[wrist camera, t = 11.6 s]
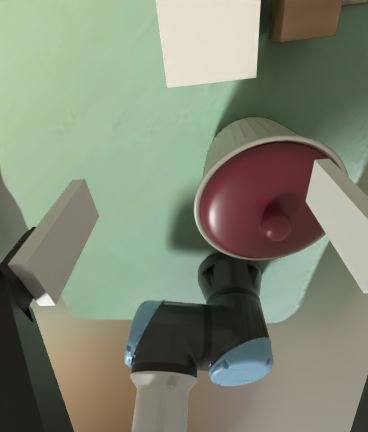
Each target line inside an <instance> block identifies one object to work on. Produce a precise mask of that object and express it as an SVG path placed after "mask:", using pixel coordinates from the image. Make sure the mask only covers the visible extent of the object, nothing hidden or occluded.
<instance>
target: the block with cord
mask: <svg viewBox="0 0 368 432" xmlns="http://www.w3.org/2000/svg"><path fill="white" fill-rule="evenodd" d="M366 2H368V0H272V1H271V14H270V26H269V38H268V39H269V40H274V41H279V42H285V41H293V40H302V39H310V38H319V37H328V36H335V34H336V30H337V25H338V20H339V15H340V11H341V6H343V5H351V4H358V3H366Z"/></svg>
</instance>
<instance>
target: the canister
mask: <svg viewBox="0 0 368 432" xmlns="http://www.w3.org/2000/svg"><path fill="white" fill-rule="evenodd" d="M318 159H330V160H331V161H332V162H333V163H334V164H335V165H336V166H337V167H338V168H339V169H340V170H341V171H342V172H343V173H344V174H345V175H346V176H347V177H348V174H347V170H346V168H345V166H344V164H343V162H342V161H341V159H340V158H339V157H338V156H337V154H336V153H335V152H334V151H332V150H331V149H330V148H329V147H327V146H326V145H324V144H322V143H321V142H319V141H316V140H314V139H311V138H308V137H304V136H299V135H297V134H296V133H294V132H293V131H291V130H290V129H288V128H286V127H284V126H282V125H281V124H279V123H277V122H275V121H273V120H268V119H267V118H260V117H248V118H242V119H240V120H237V121H235V122H233V123H231V124H229V125H228V126H227V127H225V128H223V129H222V131H221V132H219V133H218V134H217V136H216V137H215V138H214V139H213V142H212V144H211V145H210V148H209V150H208V153H207V157H206V161H205V167H204V172H203V178H202V180H201V182H200V184H199V186H198V189H197V191H196V195H195V199H194V217H195V222H196V225H197V227H198V229H199V231H200V233H201V235H202V236H203V237H204V239H205V240H206V241H207V242H208V243H209V244H210V245H212V246H213V247H214V248H216V249H217V250H219V251H221V252H222V253H225V254H227V255H229V256H232V257H236V258H240V259H246V260H270V259H276V258H281V257H285V256H288V255H291V254H294V253H296V252H299V251H301V250H303V249H305V248H307V247H309V246H310V245H312V244H313V243H315V242H316V241H318V240H319V239H320V238H322V237H323V236H324V235H325V234H326V233H325V231H324V230H323V228H322V227H321V225H320V223H319V222H318V220H317V219H316V217H315V216H314V214H313V212H312V211H311V209H310V208H309V206H308V204H307V203H306V197H307V193H308V188H309V184H310V179H311V175H312V170H313V166H314V161H315V160H318Z"/></svg>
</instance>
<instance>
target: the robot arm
mask: <svg viewBox="0 0 368 432" xmlns="http://www.w3.org/2000/svg"><path fill="white" fill-rule="evenodd" d="M306 203H307V204H308V206H309V208H310V209H311V211H312V212H313V214H314V216H315V217H316V219H317V220H318V222H319V223H320V225H321V227H322V228H323V230H324V231H325V233H326V235H327V236H328V238H329V239H330V241H331V242H332V244H333V246H334V247H335V249H336V250H337V252H338V253H339V255H340V257H341V258H342V260H343V261H344V263H345V265H346V266H347V268H348V269H349V271H350V272H351V274H352V276H353V277H354V279H355V280H356V282H357V283H358V285H359V287H360V288H361V290H362V292H363V293H368V197H367V196H366V195H365V194H364V193H363V192H362V191H361V190H360V189H359V188H358V187H357V186H356V185H355V184H354V183H353V182H352V181H351V180H350V179H349V178H348V177H347V176H346V175H345V174H344V173H343V172H342V171H341V170H340V169H339V168H338V167H337V166H336V165H335V164H334V163H333V162H332V161H331V160H330V159H318V160H315V161H314V166H313V170H312V175H311V179H310V184H309V188H308V193H307V197H306ZM98 217H99V214H98V212H97V209H96V207H95V204H94V201H93V199H92V196H91V194H90V191H89V189H88V186H87V183H86V181H85V179H79V180H72V181H71V183H70V184H69V185H68V186H67V188H66V189H65V190H64V192H63V193H62V194H61V196H60V197H59V198H58V200H57V201H56V202H55V203H54V205H53V206H52V207H51V209H50V210H49V211H48V213H47V214H46V215H45V216H44V218H43V219H42V220H41V222H40V223H39V224H38V226H37V227H33V228H31V229H30V230H29V231H27V232H26V233H25V234H24V235H23V236H22V237H21V238H20V240H19V241H18V243H17V244H16V245H15V246H14V247H13V249H12V250H11V251H10V252H9V253H8V255H7V256H6V257H5V258H4V260H3V261H2V262H1V264H0V432H74V430H73V427H72V424H71V421H70V418H69V415H68V412H67V409H66V406H65V403H64V400H63V398H62V395H61V392H60V389H59V386H58V383H57V380H56V377H55V374H54V371H53V368H52V365H51V362H50V359H49V356H48V353H47V351H46V348H45V345H44V342H43V339H42V336H41V333H40V330H39V327H38V324H37V321H36V318H35V315H34V312H33V310H32V309H31V307H30V306H29V305H30V303H31V301H32V299H33V298H34V299H35V301H36V302H37V303H38V304H39V306H49V305H56V303H57V301H58V299H59V297H60V295H61V293H62V291H63V289H64V287H65V285H66V283H67V281H68V279H69V277H70V275H71V273H72V271H73V269H74V266H75V264H76V262H77V260H78V258H79V256H80V254H81V252H82V250H83V248H84V246H85V244H86V242H87V240H88V238H89V236H90V234H91V231H92V229H93V227H94V225H95V223H96V221H97V219H98ZM261 279H262V276H261V271H260V267H259V264H258V263H257V261H256V260H246V259H240V258H236V257H232V256H229V255H227V254H225V253H218V254H215V255H213V256H210V257H209V258H207V259H206V260H205V261H204V262H203V263H202V264H201V265H200V267H199V269H198V283H199V286H200V288H201V291H202V293H203V295H204V298H205V300H206V304H207V305H206V304H194V303H182V302H172V301H165V300H162V301H150V300H149V301H145V302H143V303H142V304H141V305H140V306H139V308H138V310H137V312H136V314H135V316H134V319H133V322H132V325H131V329H130V332H129V336H128V340H127V347H126V351H125V363H126V365H128V366H129V367H131V366H132V369H131V376H130V377H131V379H132V381H133V382H134V384H135V385H136V388H137V396H136V404H135V411H134V418H133V425H132V432H187V405H188V404H187V403H188V392H189V390H190V389H191V388H192V387H193V385H194V384H195V383H196V382H197V370H202V371H209V376H210V378H211V380H212V381H213V382H214V383H215V384H219V385H222V386H237V385H243V384H247V383H250V382H254V381H256V380H258V379H260V378H262V377H264V376H265V375H266V374H268V372H269V371H270V370H271V368H272V366H273V355H272V350H271V340H270V339H269V335H268V331H267V327H266V323H265V319H264V315H263V311H262V307H261V303H260V299H259V294H260V287H261ZM350 432H368V376H367V380H366V383H365V386H364V389H363V393H362V396H361V399H360V402H359V405H358V409H357V412H356V415H355V418H354V422H353V425H352V428H351V431H350Z"/></svg>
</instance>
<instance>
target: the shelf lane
mask: <svg viewBox="0 0 368 432" xmlns="http://www.w3.org/2000/svg"><path fill="white" fill-rule="evenodd" d="M260 4H261V0H156V7H157V15H158V22H159V30H160V37H161V45H162V52H163V60H164V67H165V75H166V83H167V88H169V87H178V86H187V85H195V84H204V83H213V82H222V81H231V80H240V79H249V78H256V73H257V56H258V39H259V21H260Z"/></svg>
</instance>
